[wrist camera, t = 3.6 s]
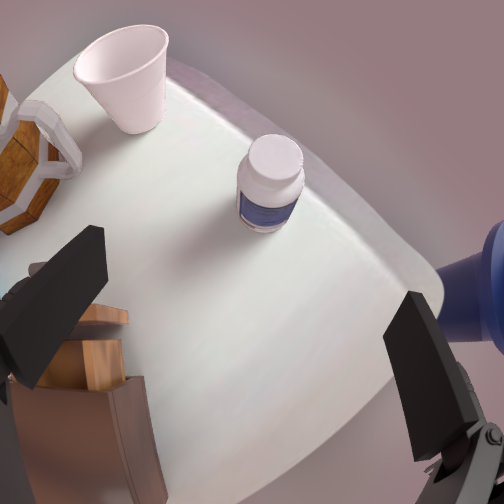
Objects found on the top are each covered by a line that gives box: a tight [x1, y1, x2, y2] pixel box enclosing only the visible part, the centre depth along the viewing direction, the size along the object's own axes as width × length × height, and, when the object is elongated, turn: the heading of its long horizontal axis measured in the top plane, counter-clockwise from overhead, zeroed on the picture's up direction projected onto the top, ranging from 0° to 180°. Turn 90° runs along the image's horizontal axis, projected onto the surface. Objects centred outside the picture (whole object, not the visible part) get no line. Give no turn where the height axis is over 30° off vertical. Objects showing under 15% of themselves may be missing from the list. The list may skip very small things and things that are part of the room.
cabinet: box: [8, 376, 168, 504], centre depth 19 cm, size 14×12×9 cm
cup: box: [73, 25, 169, 134], centre depth 27 cm, size 10×10×11 cm
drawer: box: [11, 262, 129, 391], centre depth 21 cm, size 17×11×7 cm, turn 7°
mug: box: [0, 74, 82, 235], centre depth 22 cm, size 20×14×15 cm
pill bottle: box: [237, 134, 305, 233], centre depth 25 cm, size 5×5×10 cm
